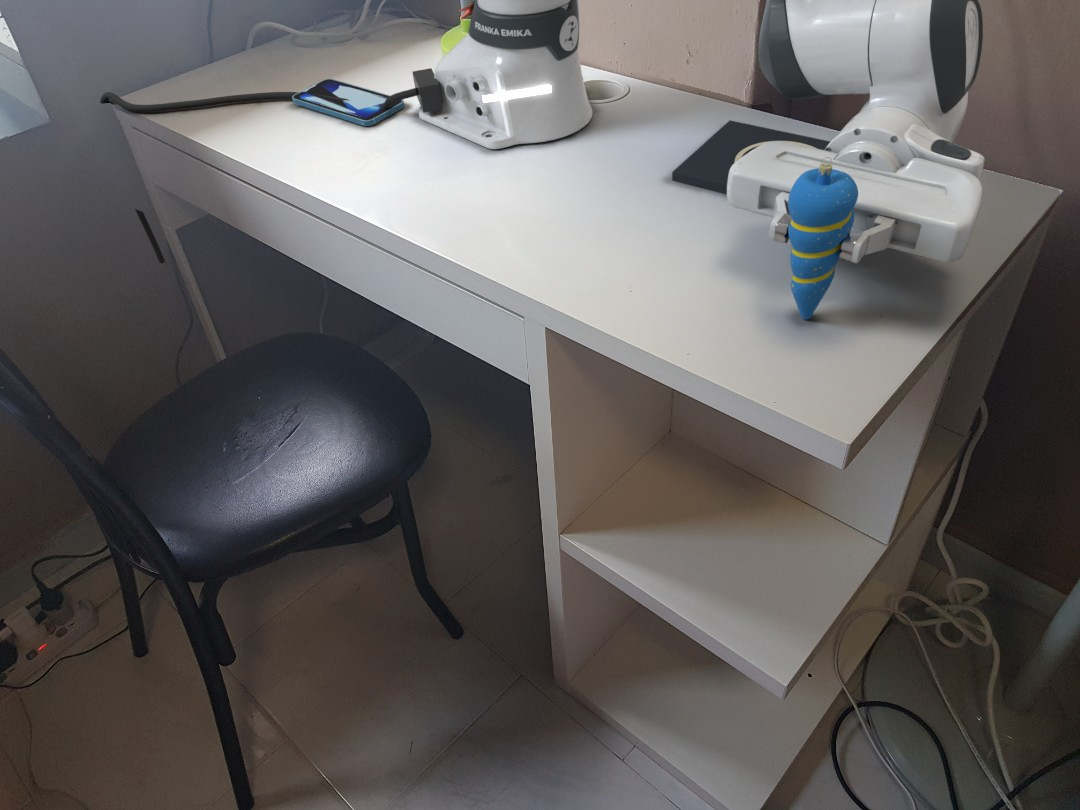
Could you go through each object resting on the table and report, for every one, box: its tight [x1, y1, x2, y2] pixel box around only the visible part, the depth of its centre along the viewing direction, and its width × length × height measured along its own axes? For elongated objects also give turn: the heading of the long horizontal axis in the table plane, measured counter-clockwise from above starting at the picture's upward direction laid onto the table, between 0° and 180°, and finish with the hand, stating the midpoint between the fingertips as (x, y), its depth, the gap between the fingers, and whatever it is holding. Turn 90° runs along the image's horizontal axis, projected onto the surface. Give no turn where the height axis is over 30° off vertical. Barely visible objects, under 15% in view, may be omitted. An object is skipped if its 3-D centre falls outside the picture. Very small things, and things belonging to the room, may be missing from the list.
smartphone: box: [291, 78, 405, 127], centre depth 112 cm, size 7×1×15 cm
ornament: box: [788, 157, 858, 320], centre depth 67 cm, size 5×5×15 cm
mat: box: [671, 119, 832, 195], centre depth 91 cm, size 15×14×1 cm
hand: (813, 243), depth 66 cm, fingers closed on ornament, 4 cm apart
